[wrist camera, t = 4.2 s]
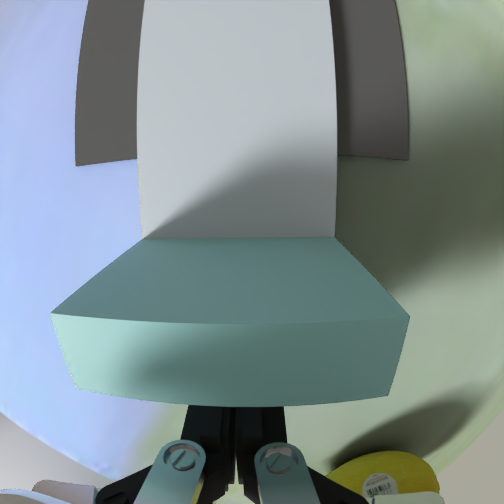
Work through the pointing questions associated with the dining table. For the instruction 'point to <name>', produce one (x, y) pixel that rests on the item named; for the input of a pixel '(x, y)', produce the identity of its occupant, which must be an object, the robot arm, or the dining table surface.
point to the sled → (235, 226)
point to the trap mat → (346, 76)
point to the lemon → (386, 474)
